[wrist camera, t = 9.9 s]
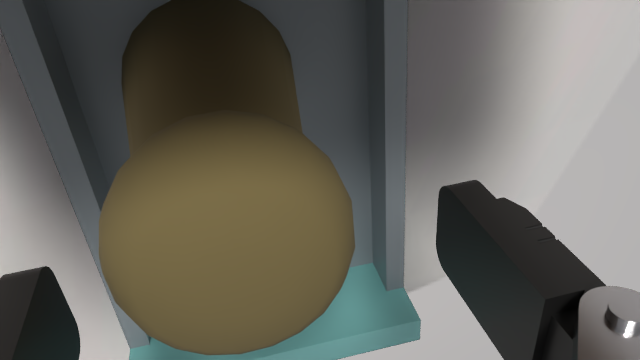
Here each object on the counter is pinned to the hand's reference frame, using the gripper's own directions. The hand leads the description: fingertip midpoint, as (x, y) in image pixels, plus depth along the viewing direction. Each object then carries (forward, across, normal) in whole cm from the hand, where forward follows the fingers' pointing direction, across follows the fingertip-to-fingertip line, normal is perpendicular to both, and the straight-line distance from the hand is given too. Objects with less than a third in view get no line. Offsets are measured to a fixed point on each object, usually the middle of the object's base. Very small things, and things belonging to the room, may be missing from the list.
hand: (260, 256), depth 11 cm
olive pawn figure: (+10, 0, 0) cm, 10 cm away
